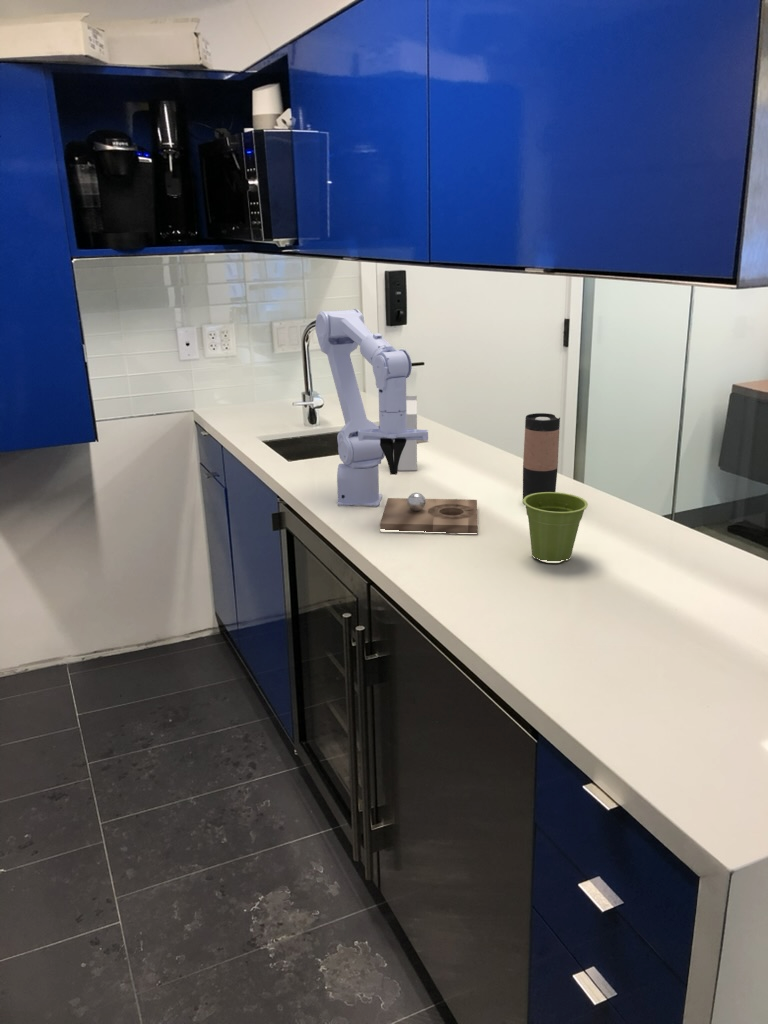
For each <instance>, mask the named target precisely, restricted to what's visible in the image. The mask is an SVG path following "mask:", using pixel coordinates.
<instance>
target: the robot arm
mask: <svg viewBox="0 0 768 1024" xmlns="http://www.w3.org/2000/svg"><path fill="white" fill-rule="evenodd" d="M314 329H315V333H316V338H317V341H318V345H319V348H320V351H321V352H322V353H324V354H325V355H327V360H328V364H329V367H330V370H331V371H330V372H331V374H332V375H331V376H332V378H333V383H334V386H335V390H336V392H337V397H338V401H339V405H340V409H341V412H342V416H343V421H344V426H343V427H342V428H341V429H340V430H339V432H338V433H337V435H336V437H337V438H336V439H337V445H338V446H337V451H338V453H337V454H338V456H339V459H340V461H341V463H339V464H338V465H337V472H336V473H337V474H336V480H337V481H336V483H337V484H336V485H337V487H336V488H337V505H338V506H349V505H364V506H363V507H378V506H380V504H381V501H382V497H383V494H382V493H380V484H379V483H380V481H379V479H380V478H379V477H380V476H379V465H381V464H382V460H384V459H386V462H387V464H388V468H389V469H390V470H389V469H388V470H389V474H390V475H395V476H396V475H398V472H399V471H398V464H399V460H400V456H401V454H402V451H403V449H404V446H405V444H406V441H407V440H417V441H422V442H428V441H429V429H418V428H417V429H407V406H406V396H407V379H408V378H409V377H410V376H411V373H412V368H413V367H412V366H413V365H412V359H411V356H410V354H409V353H408V352H407V350H406V349H395V347H393V345H392V344H390V343H389V342H388V341H387V340H386V339H385V338H384V337H383V334H381V333H380V332H377V333H372V332H371V331H370V329H369V328H368V326H366V324H365V319H364V314H363V313H362V312H361V311H360V310H359V308H353V309H346V310H330V311H326V310H320V311H319V312H318V314H317V315H316V319H315V328H314ZM358 346H359V352H360V354H361V355H362V357H363V358H364V359H365V360H366V361H367V362H368V363H369V364H370V365H371V367H372V372H373V377H374V379H375V385H376V389H378V417H379V418H378V420H379V421H378V423H379V424H376V423H375V422H373V421H371V420H369V419H368V418H367V415H366V411H365V407H364V403H363V400H362V396H361V392H360V388H359V384H358V380H357V377H356V374H355V370H354V367H353V363H352V362H353V361H352V358H351V353H352V352H354V351H355V350H357V349H358ZM394 440H395V441H394ZM393 442H394V443H393ZM393 450H394V458H393ZM366 505H368V506H366Z"/></svg>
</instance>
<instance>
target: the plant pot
mask: <svg viewBox="0 0 768 1024" xmlns="http://www.w3.org/2000/svg"><path fill="white" fill-rule="evenodd" d="M523 503H524V506H525V511H526V515H527V518H528V519H527V520H528V527H529V538H530V539H529V540H530V548H531V549H530V550H531V556H532V555H533V556H534V557H535V558H538V559H540V560H547V561H561V560H566V559H569V558H570V557H572V553H573V549H574V545H575V541H576V538H577V534H578V531H579V528H580V527H579V526H580V522H581V520H582V519H583V515H584V512H585V510H586V509H587V508H588V505H589V503H588V501H587V500H585V499H584V498H583V497H580V496H577V495H574V494H572V493H570V494H569V493H565V492H541V493H534V494H530V495H528V496H526V497H525V498H524V499H523V498H522V504H523ZM533 556H532V557H533ZM538 559H537V560H538ZM570 559H571V558H570Z"/></svg>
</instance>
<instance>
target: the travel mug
mask: <svg viewBox="0 0 768 1024" xmlns="http://www.w3.org/2000/svg"><path fill="white" fill-rule="evenodd" d="M560 422H561V417H556V415H555V414H552V413H544V412H543V413H542V412H541V413H539V412H538V413H537V412H536V413H530V414H527V415H526V416H525V421H524V424H525V425H524V439H523V440H524V442H523V462H522V500H523V499H524V498H525V497H526V496H528V495H530V494H534V493H541V492H556V489H557V481H558V480H557V479H558V469H559V467H558V466H559V446H560V428H561V427H560V426H561V425H560V424H561V423H560ZM522 504H524V503H523V502H522Z"/></svg>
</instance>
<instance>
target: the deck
mask: <svg viewBox="0 0 768 1024" xmlns="http://www.w3.org/2000/svg"><path fill="white" fill-rule="evenodd" d="M407 499H408V497H407V498H406V497H405V498H404V497H400V498H399V497H388V498H387V500H386V503H385V506H384V509H383V513H382V516H381V519H380V522H379V530H380V529H385V530H399V531H424V532H425V531H426V532H446V533H477V534H478V525H479V524H478V523H479V522H478V499H463V498H462V499H458V498H456V499H455V498H448V499H447V498H425V500H426V504H425V507H424V508H423V509H422V510H420V511H413V510H411V509H410V508H409V507H408V505H407Z"/></svg>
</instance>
